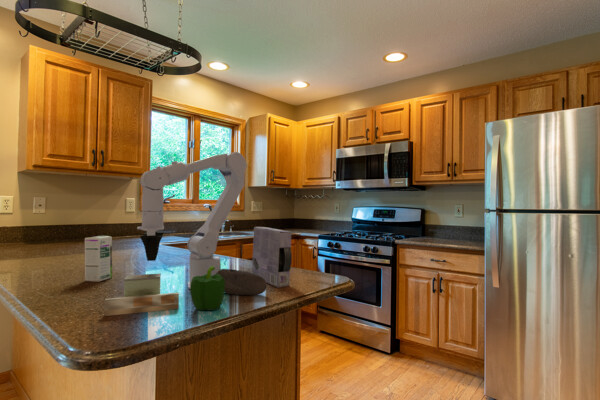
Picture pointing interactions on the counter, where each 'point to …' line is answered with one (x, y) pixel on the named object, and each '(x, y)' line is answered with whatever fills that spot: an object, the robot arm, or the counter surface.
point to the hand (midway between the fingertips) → (152, 258)
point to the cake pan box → (272, 255)
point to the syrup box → (98, 258)
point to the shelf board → (141, 304)
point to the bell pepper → (207, 291)
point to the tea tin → (142, 285)
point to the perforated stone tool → (242, 282)
